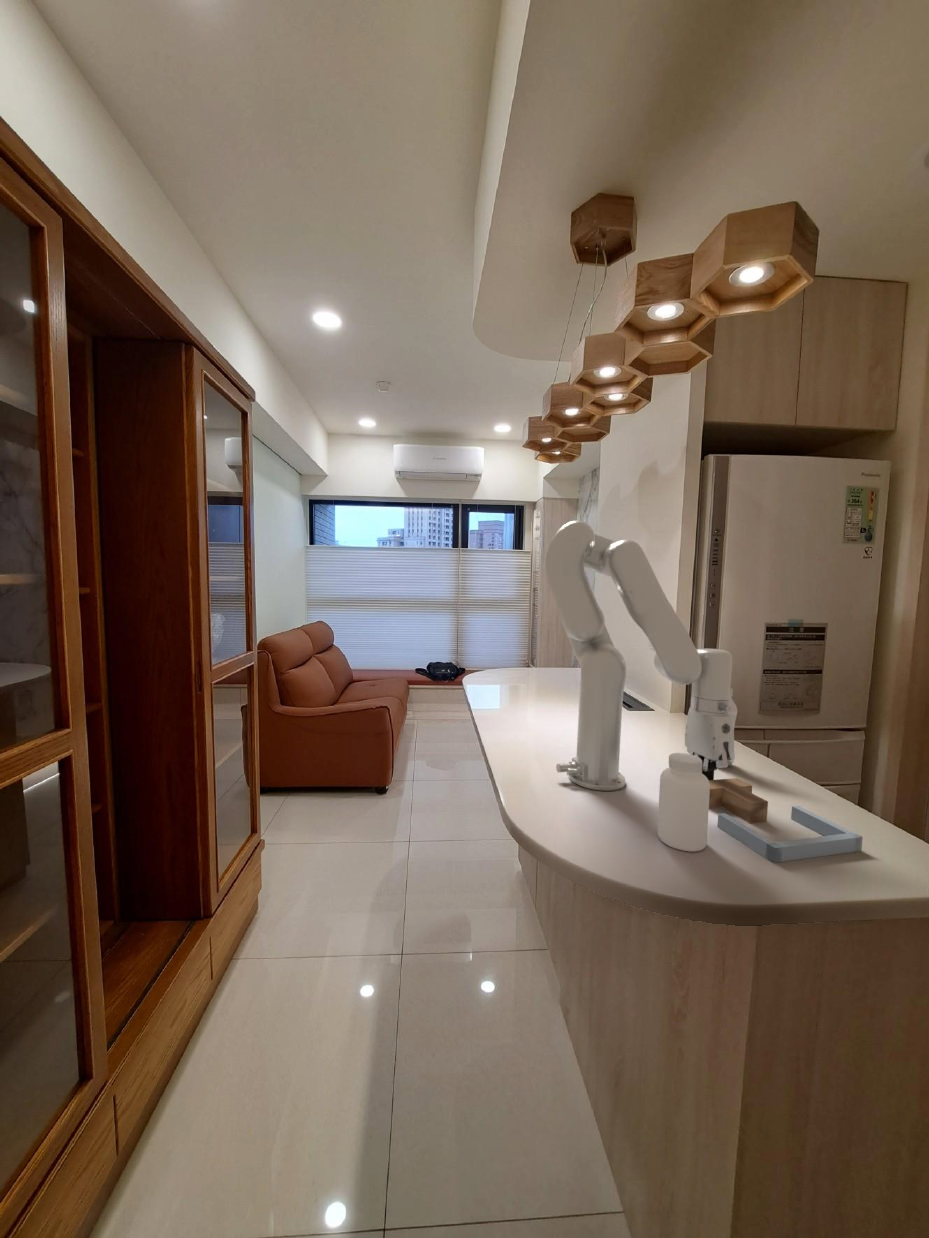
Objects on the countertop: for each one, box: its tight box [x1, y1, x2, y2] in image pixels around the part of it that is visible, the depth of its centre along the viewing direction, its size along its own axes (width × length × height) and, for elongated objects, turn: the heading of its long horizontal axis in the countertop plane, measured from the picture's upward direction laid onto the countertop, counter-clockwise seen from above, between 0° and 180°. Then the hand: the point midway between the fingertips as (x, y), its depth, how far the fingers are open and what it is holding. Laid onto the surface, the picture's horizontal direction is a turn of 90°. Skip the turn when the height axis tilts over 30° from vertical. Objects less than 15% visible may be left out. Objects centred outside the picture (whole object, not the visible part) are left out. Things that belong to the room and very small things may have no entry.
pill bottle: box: [657, 752, 710, 852], centre depth 83 cm, size 8×8×15 cm
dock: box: [716, 805, 863, 864], centre depth 85 cm, size 19×12×2 cm, turn 104°
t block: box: [709, 777, 769, 824], centre depth 96 cm, size 11×11×4 cm
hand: (704, 786), depth 105 cm, fingers closed
